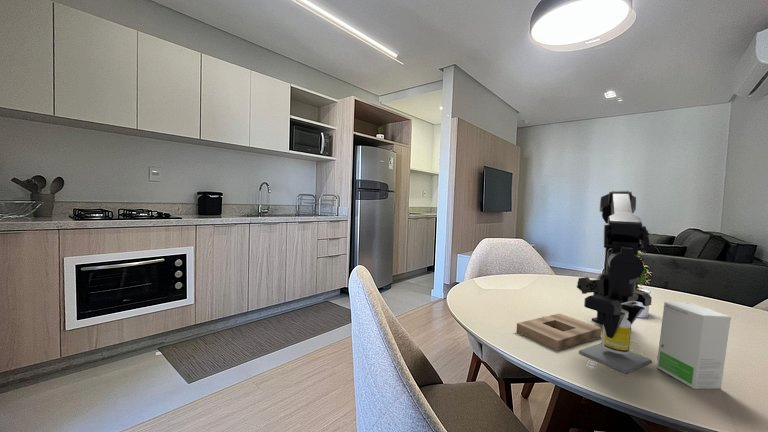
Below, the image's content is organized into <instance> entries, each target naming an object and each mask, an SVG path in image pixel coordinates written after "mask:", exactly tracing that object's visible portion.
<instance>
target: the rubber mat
mask: <svg viewBox="0 0 768 432" xmlns="http://www.w3.org/2000/svg"><path fill="white" fill-rule="evenodd" d="M601 343H602V342H600V343H597V344H594V345H591V346H587V347H585V348H582V349H580V350H578V354H581V355H584V356H585V357H588V358H590V359H592V360H594V361H595V362H599V363H601V364H603V365H606V366H608V367H610V368H613V369H615V370H617V371H620V372H622V373H624V374H628V373H630V372H633V371H635V370H637V369H639V368H642V367H644V366H646V365H648V364H651V363H652V362H653V361H652V360H653V359H652V358H649V357H647V356H644V355H642V354H639V353H636V352H634V351H631V350H629V353H628V354H617V353H613V352H610V351H608V350H606V349H604V348H603V347H602V344H601Z"/></svg>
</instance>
